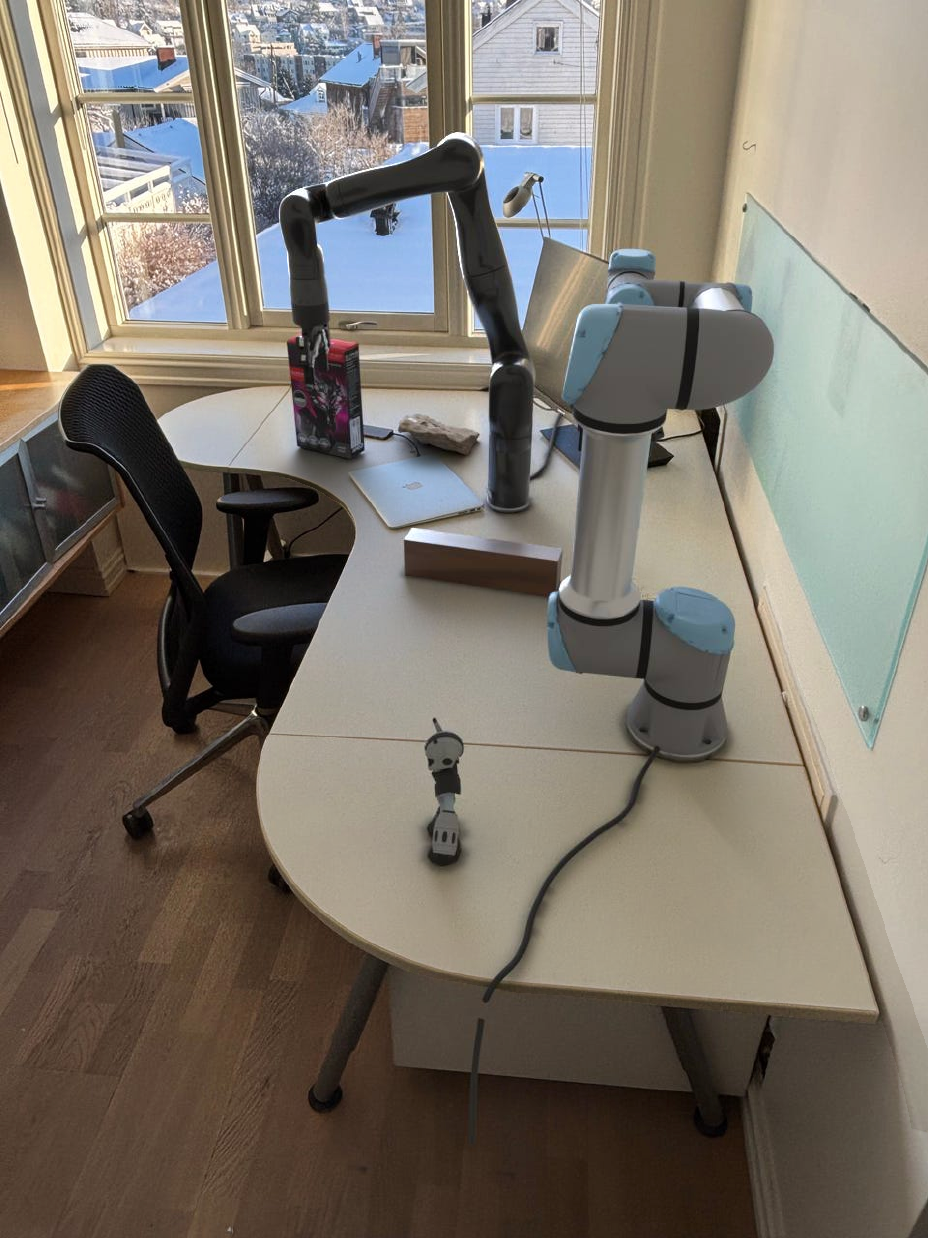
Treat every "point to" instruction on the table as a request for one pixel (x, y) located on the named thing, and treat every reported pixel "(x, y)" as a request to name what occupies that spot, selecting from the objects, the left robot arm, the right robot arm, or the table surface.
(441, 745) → the robot
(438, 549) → the beam
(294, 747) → the table surface
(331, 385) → the graphics card box
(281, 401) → the table surface
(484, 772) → the table surface
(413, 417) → the stone
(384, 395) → the table surface
